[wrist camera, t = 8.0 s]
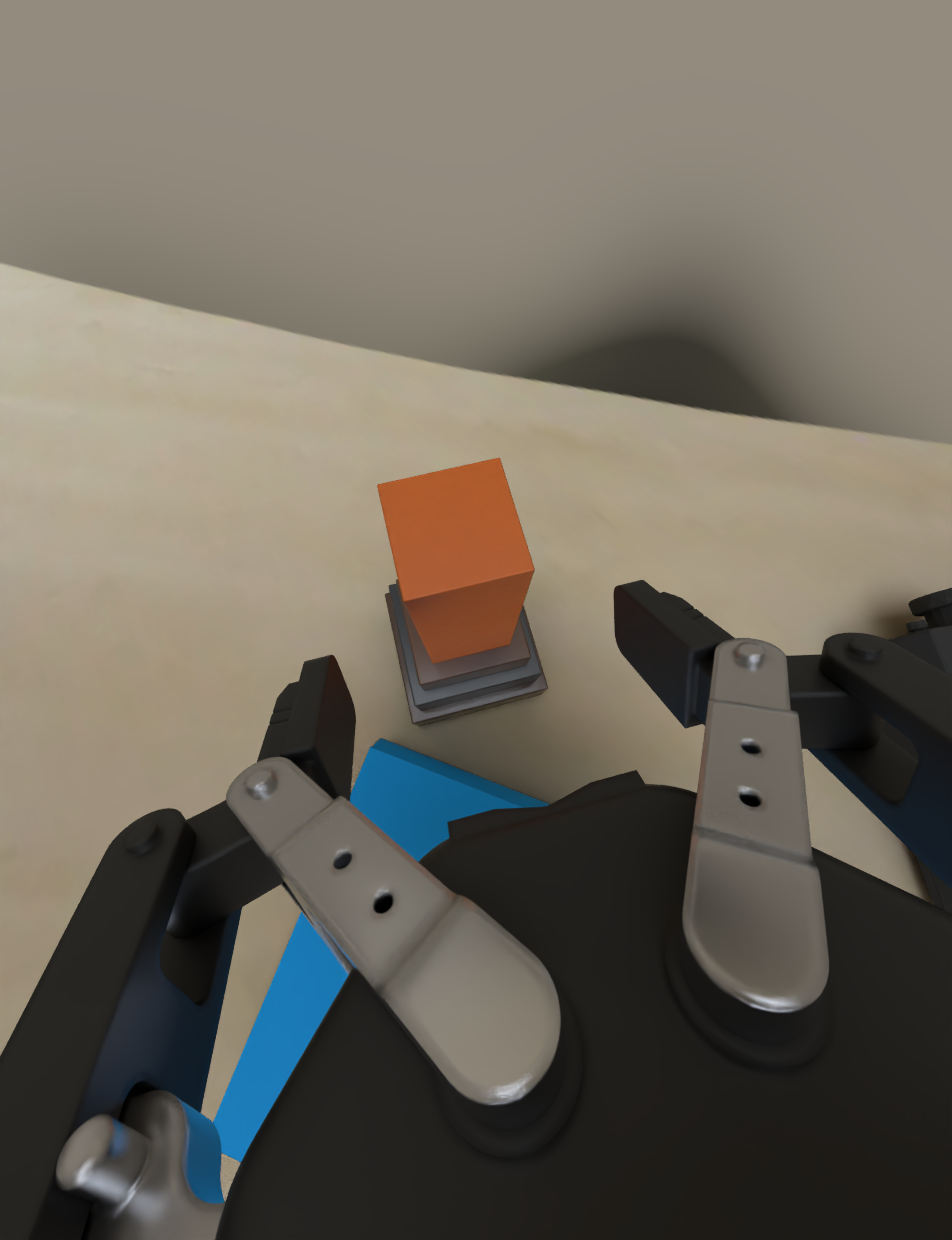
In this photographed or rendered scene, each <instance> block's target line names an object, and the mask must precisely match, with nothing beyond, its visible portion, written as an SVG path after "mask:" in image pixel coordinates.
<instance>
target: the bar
mask: <svg viewBox="0 0 952 1240" xmlns="http://www.w3.org/2000/svg"><path fill="white" fill-rule="evenodd" d="M377 488H378V492H379V496H380V501H381V505H382V510H383V514H384V519H385V523H386V528H387V532H388V537H389V541H390V545H391V550H392V554H393V559H394V563H395V568H396V572H397V577H398V581H399V586H400V590H401V594H402V599H403V602H404V604H405V606H406V608H407V610H408V612H409V615H410V617H411V619H412V621H413V623H414V625H415V627H416V629H417V631H418V633H419V636H420V638H421V640H422V642H423V644H424V646H425V648H426V650H427V652H428V655H429V657H430V659H431V661H432V663H433V664H434V663H438V662H442V661H446V660H450V659H454V658H458V657H462V656H466V655H470V654H474V653H478V652H482V651H486V650H490V649H494V648H498V647H502V646H506V645H509V644H510V642H511V639H512V636H513V633H514V630H515V627H516V624H517V621H518V618H519V615H520V612H521V609H522V606H523V603H524V600H525V597H526V594H527V591H528V588H529V585H530V582H531V579H532V576H533V573H534V566H533V563H532V559H531V556H530V553H529V550H528V547H527V543H526V540H525V537H524V534H523V531H522V527H521V524H520V521H519V518H518V515H517V511H516V508H515V505H514V502H513V499H512V495H511V492H510V489H509V486H508V483H507V479H506V476H505V473H504V470H503V466H502V463H501V460H500V458H496V459H491V460H487V461H482V462H478V463H473V464H469V465H464V466H460V467H455V468H450V469H446V470H441V471H437V472H432V473H428V474H423V475H419V476H414V477H410V478H405V479H401V480H396V481H392V482H387V483H383V484H378V486H377Z"/></svg>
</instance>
